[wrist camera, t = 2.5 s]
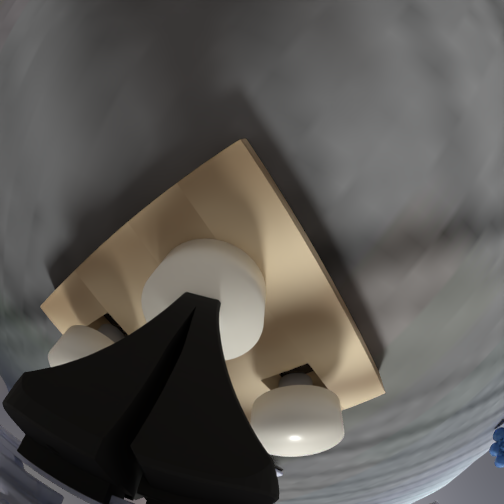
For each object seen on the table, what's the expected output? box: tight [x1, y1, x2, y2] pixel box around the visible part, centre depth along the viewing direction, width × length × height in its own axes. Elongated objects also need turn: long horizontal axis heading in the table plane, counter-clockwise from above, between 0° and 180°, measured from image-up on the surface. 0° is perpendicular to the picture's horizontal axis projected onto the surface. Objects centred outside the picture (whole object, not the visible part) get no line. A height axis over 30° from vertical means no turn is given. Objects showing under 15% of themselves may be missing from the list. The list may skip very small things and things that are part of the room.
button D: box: [48, 324, 125, 367], centre depth 13 cm, size 5×5×4 cm
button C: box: [141, 238, 266, 360], centre depth 12 cm, size 5×5×4 cm
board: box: [40, 139, 385, 423], centre depth 15 cm, size 17×17×2 cm
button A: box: [250, 373, 344, 457], centre depth 13 cm, size 5×5×4 cm
